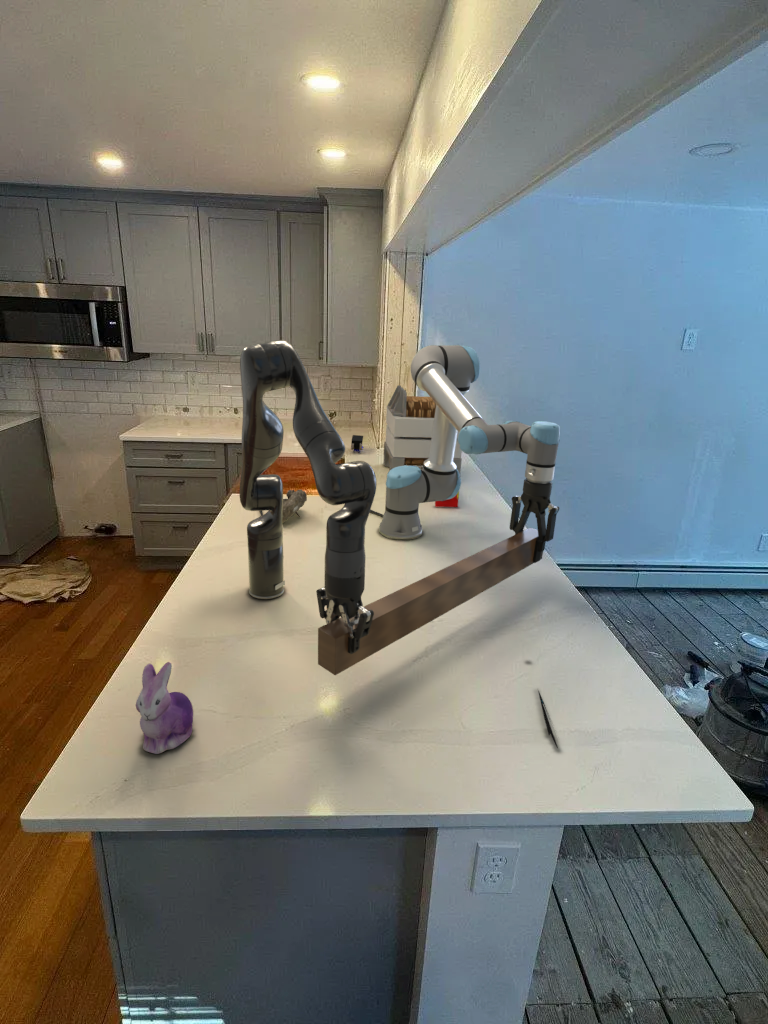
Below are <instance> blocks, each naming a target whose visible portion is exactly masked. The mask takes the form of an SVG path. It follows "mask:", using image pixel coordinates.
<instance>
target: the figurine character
mask: <svg viewBox="0 0 768 1024" xmlns="http://www.w3.org/2000/svg"><path fill="white" fill-rule="evenodd" d="M363 441H364V435H360V434H359V435H357V434H352V435H351V443H350V450H351V451H352V450H353V451H352V453H355V452H358V454H360V453H361V451H362V450H363V448H364V446H363V443H364V442H363Z"/></svg>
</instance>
